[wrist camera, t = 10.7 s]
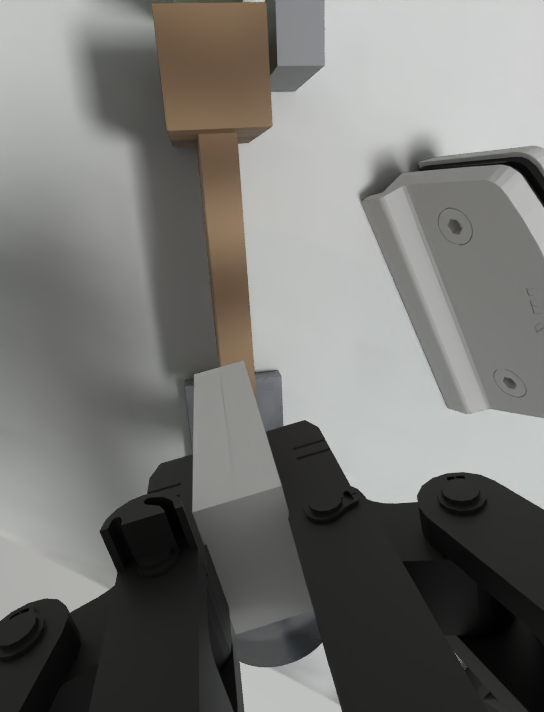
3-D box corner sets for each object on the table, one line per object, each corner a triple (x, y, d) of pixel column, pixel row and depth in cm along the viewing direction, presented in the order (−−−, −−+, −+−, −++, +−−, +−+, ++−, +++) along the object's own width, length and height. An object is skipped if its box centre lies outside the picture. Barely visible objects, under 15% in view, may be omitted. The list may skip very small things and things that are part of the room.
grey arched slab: (357, 195, 28) (508, 158, 19) (412, 159, 29) (577, 109, 21) (449, 412, 34) (595, 460, 25) (491, 374, 36) (643, 406, 27)
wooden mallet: (263, 380, 31) (288, 443, 23) (201, 387, 30) (205, 454, 23) (242, 57, 24) (266, 2, 17) (163, 59, 24) (151, 3, 16)
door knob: (281, 451, 33) (358, 669, 18) (194, 462, 32) (199, 701, 17) (278, 370, 31) (362, 543, 16) (184, 380, 30) (181, 571, 15)
